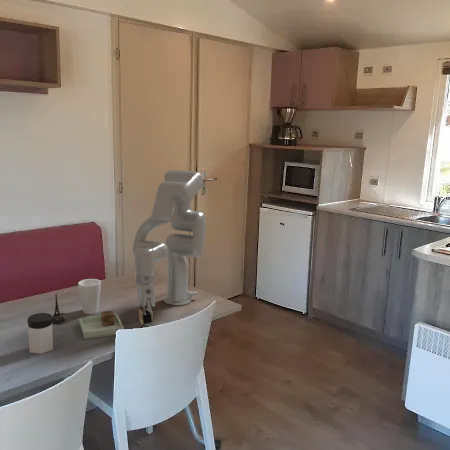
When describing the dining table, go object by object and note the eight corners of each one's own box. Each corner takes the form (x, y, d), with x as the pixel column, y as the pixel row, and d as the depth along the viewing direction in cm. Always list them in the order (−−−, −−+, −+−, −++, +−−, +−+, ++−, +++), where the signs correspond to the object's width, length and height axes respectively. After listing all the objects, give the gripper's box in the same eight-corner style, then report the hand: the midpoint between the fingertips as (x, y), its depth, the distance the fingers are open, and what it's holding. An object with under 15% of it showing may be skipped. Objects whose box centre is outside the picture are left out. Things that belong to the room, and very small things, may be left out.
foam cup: (95, 316, 201) (94, 287, 198) (75, 314, 202) (74, 285, 200) (105, 308, 210) (104, 280, 207) (85, 306, 211) (85, 278, 209)
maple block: (149, 317, 196) (149, 307, 195) (152, 322, 192) (152, 312, 191) (139, 319, 194) (138, 309, 193) (141, 324, 190) (141, 313, 189)
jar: (47, 340, 178) (45, 310, 175) (59, 347, 173) (57, 316, 170) (23, 348, 171) (21, 317, 168) (35, 356, 166) (33, 324, 163)
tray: (117, 319, 198) (117, 313, 198) (123, 333, 186) (123, 327, 185) (79, 324, 192) (79, 318, 192) (83, 339, 180) (83, 332, 179)
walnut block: (112, 320, 195) (112, 310, 194) (114, 325, 191) (114, 314, 190) (101, 322, 194) (101, 311, 193) (102, 326, 189) (102, 315, 188)
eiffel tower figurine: (63, 313, 204) (62, 283, 201) (80, 319, 199) (78, 288, 196) (33, 325, 192) (31, 293, 189) (49, 331, 186) (48, 299, 184)
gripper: (159, 284, 182) (160, 327, 187) (148, 269, 197) (149, 310, 202) (140, 286, 179) (141, 331, 184) (130, 271, 194) (132, 313, 199)
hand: (145, 319), depth 193 cm, fingers closed on maple block, 4 cm apart
